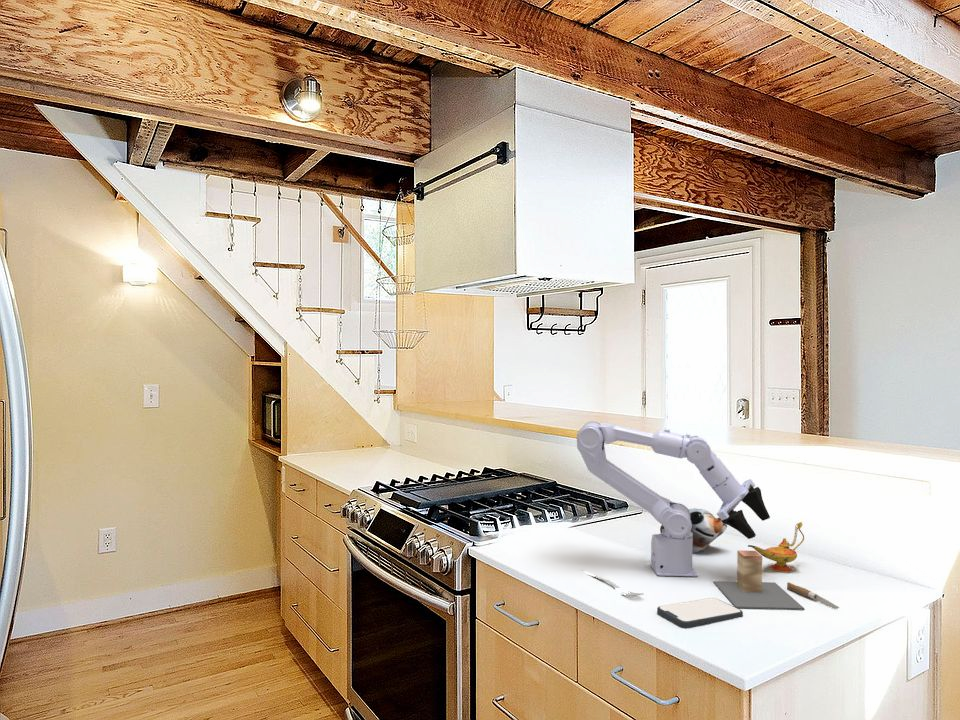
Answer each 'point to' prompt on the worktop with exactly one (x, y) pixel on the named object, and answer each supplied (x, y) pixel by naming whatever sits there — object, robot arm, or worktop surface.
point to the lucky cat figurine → (703, 528)
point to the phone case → (698, 612)
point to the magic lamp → (781, 553)
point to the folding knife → (810, 595)
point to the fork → (618, 587)
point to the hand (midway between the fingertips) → (759, 528)
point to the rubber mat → (758, 597)
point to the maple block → (749, 571)
